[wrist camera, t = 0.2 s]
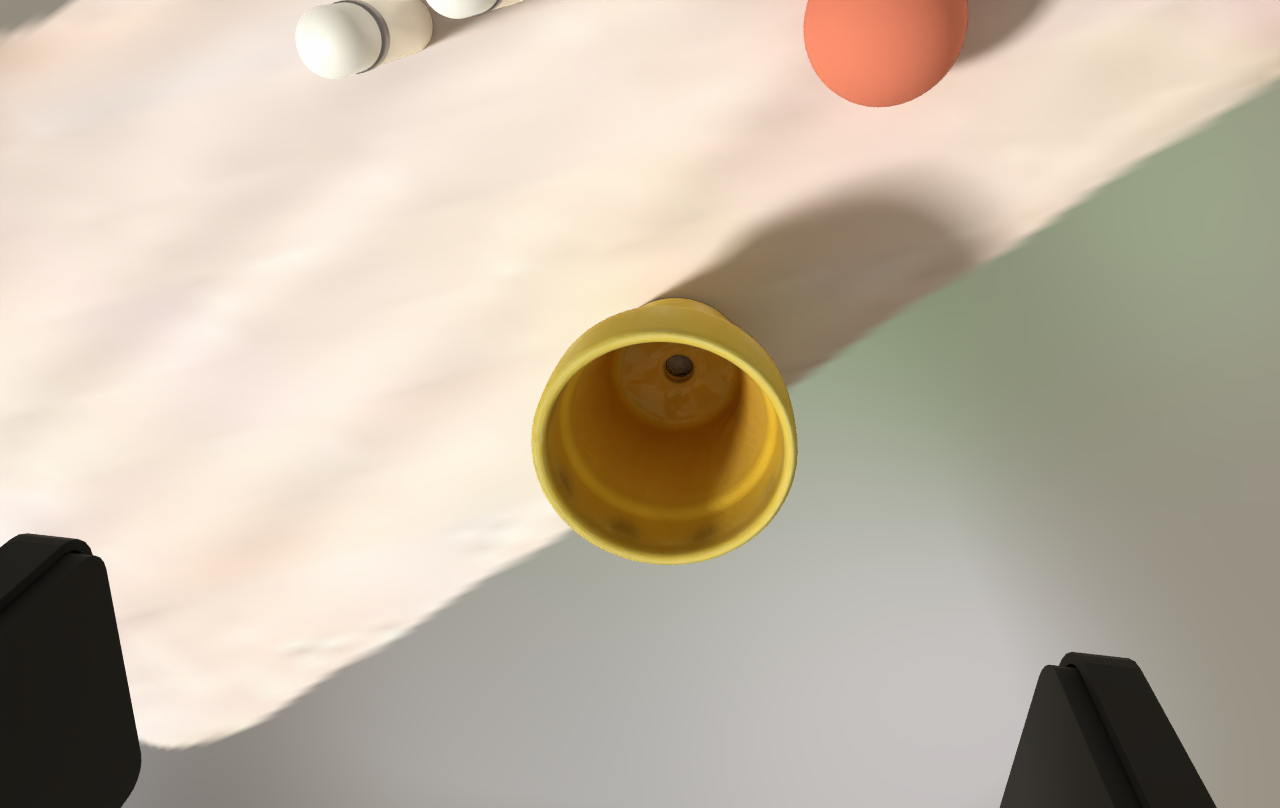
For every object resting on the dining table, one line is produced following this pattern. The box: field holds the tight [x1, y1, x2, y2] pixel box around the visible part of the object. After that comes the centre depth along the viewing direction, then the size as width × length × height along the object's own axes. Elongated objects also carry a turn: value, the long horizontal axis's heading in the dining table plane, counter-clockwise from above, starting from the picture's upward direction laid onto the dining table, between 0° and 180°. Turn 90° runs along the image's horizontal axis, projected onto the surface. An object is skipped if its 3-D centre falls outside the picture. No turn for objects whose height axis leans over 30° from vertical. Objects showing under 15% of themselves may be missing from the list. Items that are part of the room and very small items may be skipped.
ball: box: [804, 0, 968, 107], centre depth 38 cm, size 6×6×6 cm
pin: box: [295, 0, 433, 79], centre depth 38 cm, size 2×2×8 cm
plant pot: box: [532, 298, 798, 565], centre depth 43 cm, size 10×10×10 cm
